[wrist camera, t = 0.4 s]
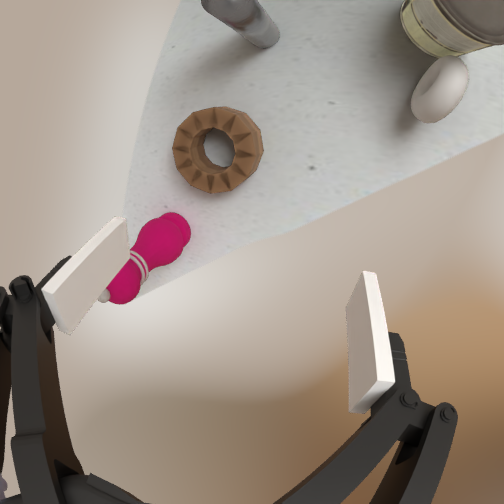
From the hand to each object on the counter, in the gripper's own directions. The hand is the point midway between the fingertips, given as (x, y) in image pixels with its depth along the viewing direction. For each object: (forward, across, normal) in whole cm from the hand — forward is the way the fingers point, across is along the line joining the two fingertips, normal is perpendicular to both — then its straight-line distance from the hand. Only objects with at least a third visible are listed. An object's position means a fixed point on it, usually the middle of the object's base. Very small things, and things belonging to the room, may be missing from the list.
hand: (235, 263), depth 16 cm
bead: (+27, -8, -2) cm, 29 cm away
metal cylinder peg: (+28, -5, +15) cm, 33 cm away
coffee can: (+28, +17, +23) cm, 40 cm away
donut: (+27, +17, +13) cm, 34 cm away
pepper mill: (+27, -15, -17) cm, 35 cm away
